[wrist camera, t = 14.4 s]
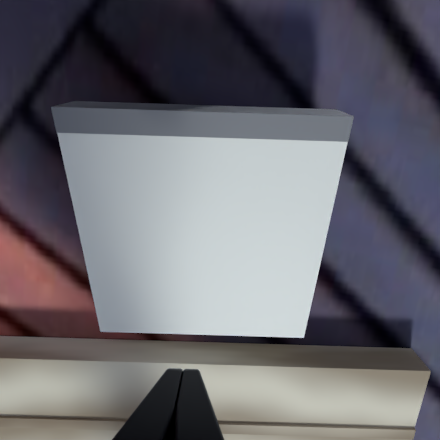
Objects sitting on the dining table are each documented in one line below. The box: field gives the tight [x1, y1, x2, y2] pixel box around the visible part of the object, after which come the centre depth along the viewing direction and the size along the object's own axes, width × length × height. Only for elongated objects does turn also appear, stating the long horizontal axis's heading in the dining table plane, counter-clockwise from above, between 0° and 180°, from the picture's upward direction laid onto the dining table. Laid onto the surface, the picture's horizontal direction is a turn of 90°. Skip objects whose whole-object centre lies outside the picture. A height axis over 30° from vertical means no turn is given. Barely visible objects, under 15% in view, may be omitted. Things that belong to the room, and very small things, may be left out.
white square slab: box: [51, 101, 354, 338], centre depth 16 cm, size 2×12×12 cm
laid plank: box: [0, 336, 431, 440], centre depth 21 cm, size 10×28×2 cm, turn 88°
